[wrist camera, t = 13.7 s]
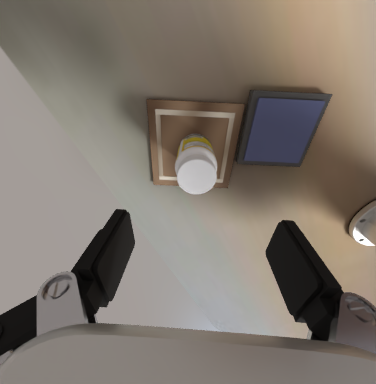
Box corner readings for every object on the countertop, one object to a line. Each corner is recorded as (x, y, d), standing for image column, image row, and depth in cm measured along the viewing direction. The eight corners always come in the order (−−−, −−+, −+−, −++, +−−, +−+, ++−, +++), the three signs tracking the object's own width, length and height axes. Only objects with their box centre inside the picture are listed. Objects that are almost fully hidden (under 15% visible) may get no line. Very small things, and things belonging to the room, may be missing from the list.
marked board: (243, 103, 21) (245, 104, 20) (227, 186, 27) (227, 188, 27) (147, 99, 21) (146, 99, 20) (154, 182, 27) (153, 184, 26)
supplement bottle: (195, 171, 25) (196, 205, 18) (171, 151, 24) (162, 180, 16) (219, 148, 23) (230, 176, 16) (194, 125, 22) (195, 144, 14)
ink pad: (325, 93, 20) (334, 94, 18) (295, 163, 25) (301, 168, 23) (250, 90, 20) (254, 90, 18) (235, 160, 25) (238, 164, 23)
